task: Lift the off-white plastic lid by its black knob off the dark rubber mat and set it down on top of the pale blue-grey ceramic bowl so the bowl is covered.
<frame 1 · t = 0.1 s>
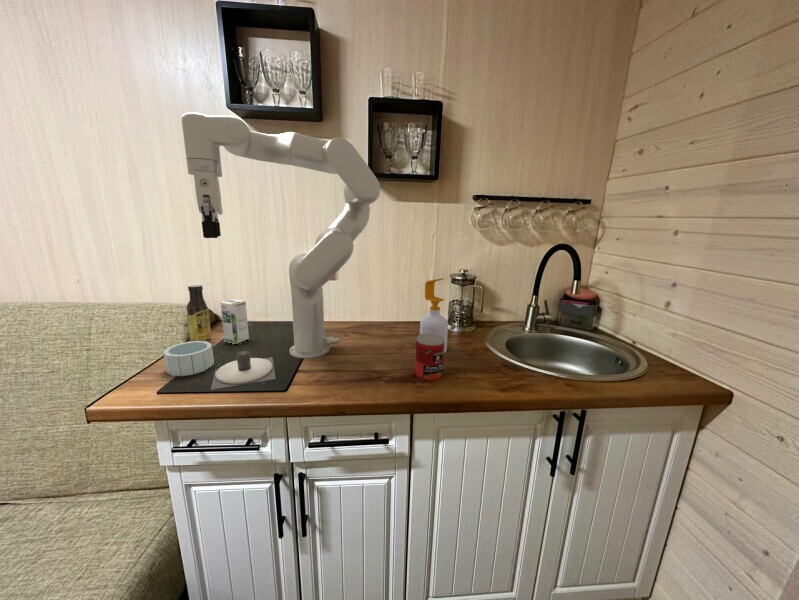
hand: (212, 237, 85), 37 cm above the counter, tool pointing down, fingers open, 9 cm apart
sauce bottle: (201, 343, 109), on the counter
lid: (244, 371, 88), resting on mat
bowl: (191, 367, 90), on the counter
mat: (245, 372, 88), on the counter
canned food: (428, 375, 89), on the counter
syrup box: (237, 341, 111), on the counter
soap bottle: (432, 350, 106), on the counter
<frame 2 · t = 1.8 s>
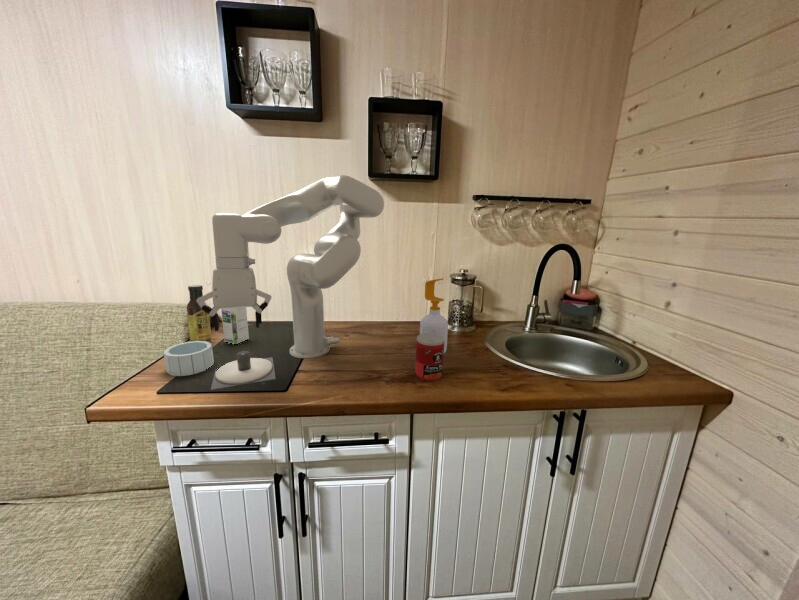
hand: (237, 327, 84), 13 cm above the counter, tool pointing down, fingers open, 9 cm apart
nothing on the counter moved.
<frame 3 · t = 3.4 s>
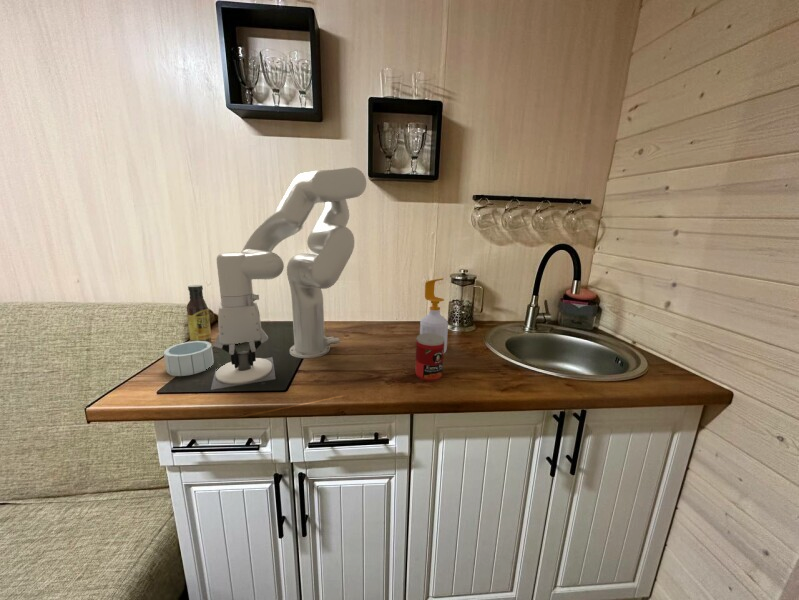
hand: (244, 364, 87), 3 cm above the counter, tool pointing down, fingers closed on lid, 3 cm apart
lid: (245, 371, 88), resting on mat, touching gripper
everything else where it was.
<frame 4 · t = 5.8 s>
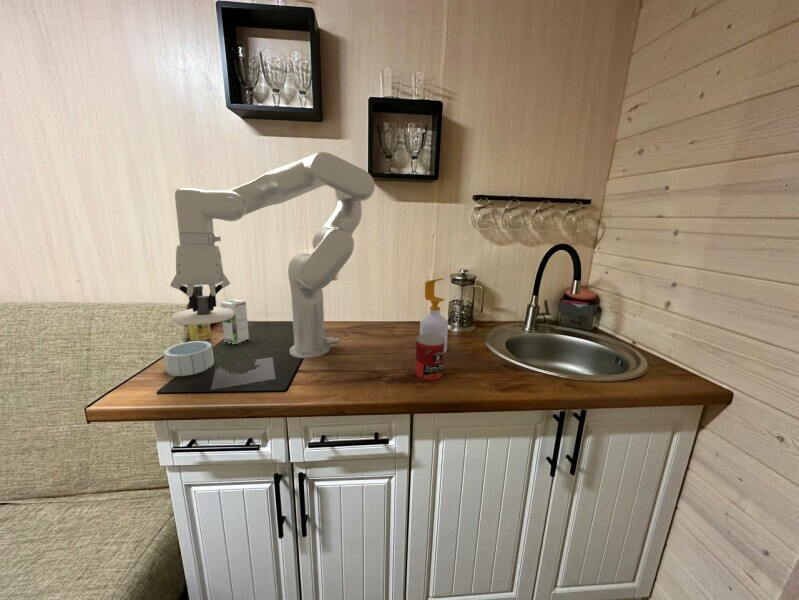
hand: (203, 309, 85), 18 cm above the counter, tool pointing down, fingers closed on lid, 3 cm apart
lid: (204, 317, 85), point 16 cm above the counter, touching gripper
everything else where it was.
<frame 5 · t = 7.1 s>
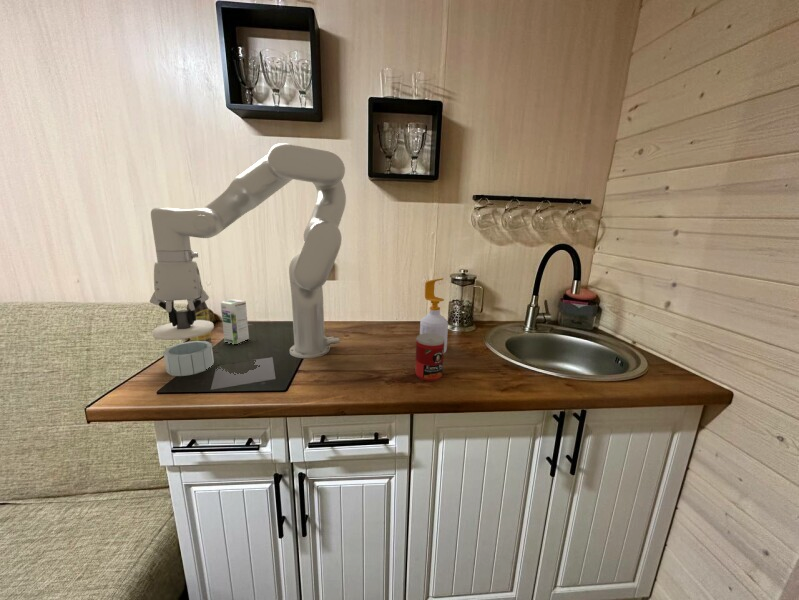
hand: (183, 323, 87), 13 cm above the counter, tool pointing down, fingers closed on lid, 3 cm apart
lid: (184, 330, 87), point 11 cm above the counter, touching gripper
everything else where it was.
when the fingers open (9 cm above the counter, at t = 8.0 s): lid drops 1 cm, resting on bowl.
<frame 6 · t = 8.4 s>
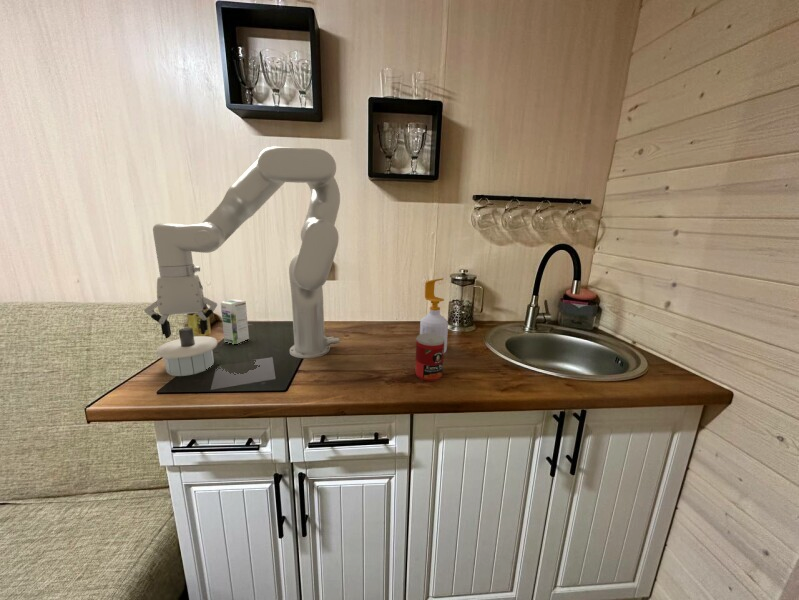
hand: (186, 334, 88), 10 cm above the counter, tool pointing down, fingers open, 7 cm apart
lid: (188, 348, 89), point 6 cm above the counter, touching bowl
everything else where it was.
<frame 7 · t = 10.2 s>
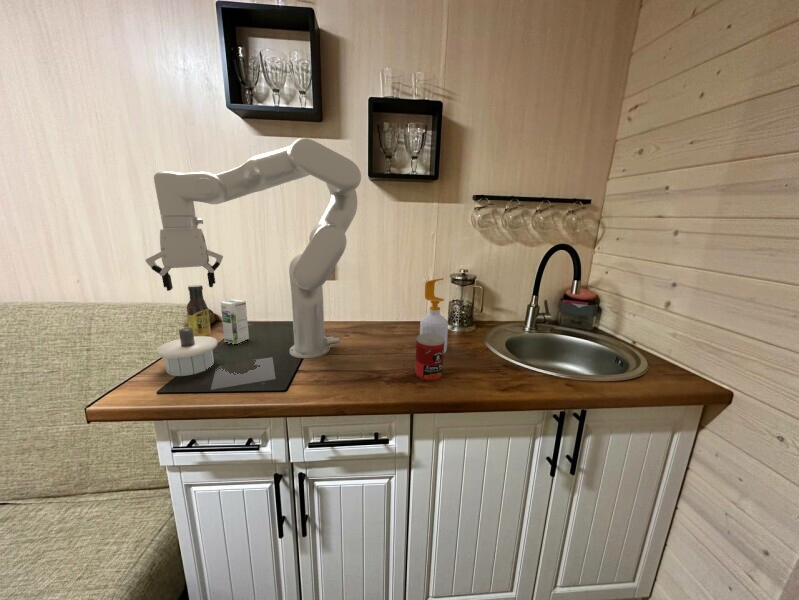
hand: (191, 288, 86), 23 cm above the counter, tool pointing down, fingers open, 9 cm apart
nothing on the counter moved.
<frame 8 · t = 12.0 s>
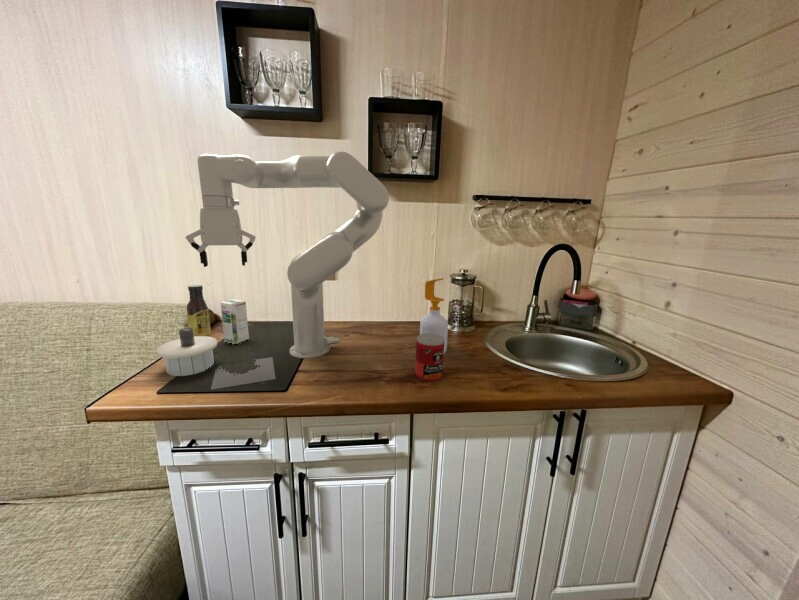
hand: (225, 265, 91), 28 cm above the counter, tool pointing down, fingers open, 9 cm apart
nothing on the counter moved.
at the end: lid 0.1 cm off-centre on the bowl, point 6.0 cm above the bowl's base; lid tilted 0°; the gripper is holding nothing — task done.
